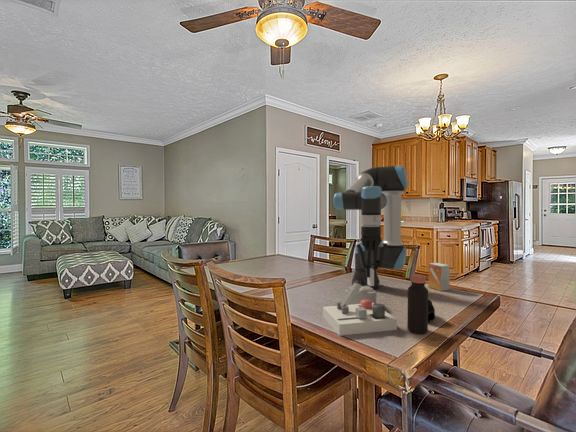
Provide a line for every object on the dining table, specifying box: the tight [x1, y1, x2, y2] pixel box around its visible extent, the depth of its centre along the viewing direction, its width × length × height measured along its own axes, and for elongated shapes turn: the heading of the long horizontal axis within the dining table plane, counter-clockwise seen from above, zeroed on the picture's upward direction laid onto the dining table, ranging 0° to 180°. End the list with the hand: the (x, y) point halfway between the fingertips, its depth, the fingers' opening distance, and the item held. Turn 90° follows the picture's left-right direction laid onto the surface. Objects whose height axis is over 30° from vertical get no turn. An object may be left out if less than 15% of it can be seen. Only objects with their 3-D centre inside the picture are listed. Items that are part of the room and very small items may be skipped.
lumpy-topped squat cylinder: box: [344, 285, 377, 305], centre depth 136 cm, size 10×13×9 cm
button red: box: [361, 299, 372, 309], centre depth 123 cm, size 4×4×6 cm
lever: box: [340, 280, 361, 308], centre depth 119 cm, size 2×3×13 cm
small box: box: [427, 262, 451, 292], centre depth 161 cm, size 8×6×13 cm
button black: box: [373, 303, 386, 319], centre depth 113 cm, size 4×4×6 cm
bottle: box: [406, 273, 429, 335], centre depth 109 cm, size 7×7×20 cm
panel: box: [322, 301, 398, 336], centre depth 117 cm, size 22×18×6 cm
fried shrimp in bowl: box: [428, 298, 436, 322], centre depth 124 cm, size 9×11×18 cm
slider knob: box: [356, 307, 367, 319], centre depth 111 cm, size 3×3×3 cm
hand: (370, 285), depth 120 cm, fingers closed
